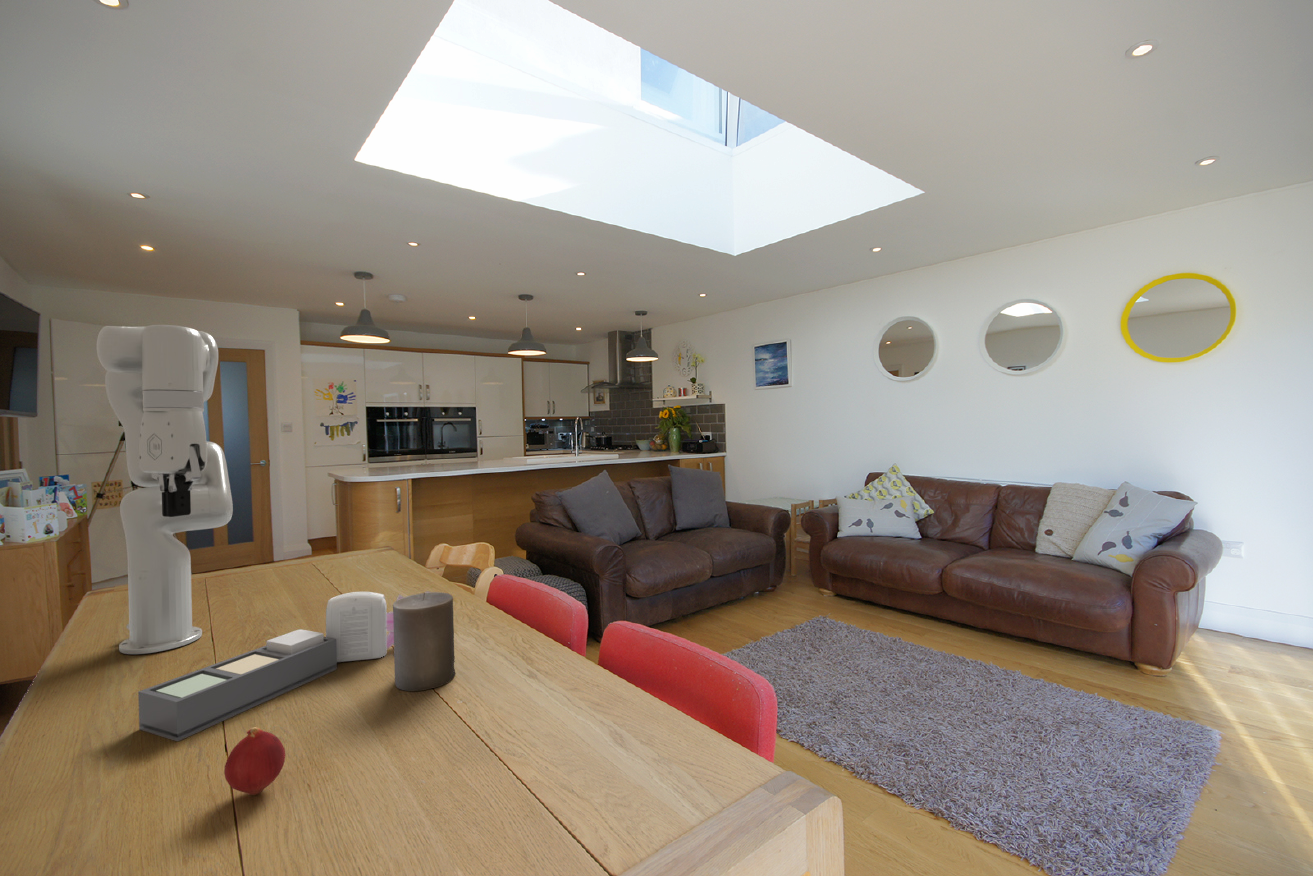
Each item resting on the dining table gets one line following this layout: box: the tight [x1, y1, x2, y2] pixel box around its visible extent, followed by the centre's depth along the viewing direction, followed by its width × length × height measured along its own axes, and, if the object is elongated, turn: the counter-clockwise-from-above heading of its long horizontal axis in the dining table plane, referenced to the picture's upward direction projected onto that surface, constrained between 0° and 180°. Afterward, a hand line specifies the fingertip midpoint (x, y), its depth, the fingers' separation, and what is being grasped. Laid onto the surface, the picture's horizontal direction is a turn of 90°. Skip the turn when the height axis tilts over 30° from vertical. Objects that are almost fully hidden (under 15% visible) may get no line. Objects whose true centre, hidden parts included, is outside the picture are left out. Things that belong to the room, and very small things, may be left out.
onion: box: [223, 726, 286, 796], centre depth 67 cm, size 6×6×8 cm
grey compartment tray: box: [137, 636, 338, 742], centre depth 91 cm, size 9×25×6 cm, turn 159°
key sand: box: [216, 654, 279, 675], centre depth 91 cm, size 6×6×4 cm
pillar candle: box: [392, 591, 456, 692], centre depth 97 cm, size 10×10×15 cm
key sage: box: [156, 674, 226, 698], centre depth 84 cm, size 6×6×4 cm
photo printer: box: [325, 591, 388, 663], centre depth 106 cm, size 10×4×12 cm, turn 106°
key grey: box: [266, 628, 325, 655], centre depth 99 cm, size 6×6×4 cm
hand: (176, 515), depth 92 cm, fingers closed
